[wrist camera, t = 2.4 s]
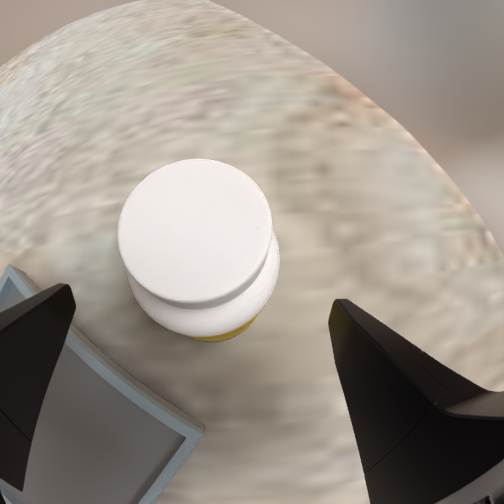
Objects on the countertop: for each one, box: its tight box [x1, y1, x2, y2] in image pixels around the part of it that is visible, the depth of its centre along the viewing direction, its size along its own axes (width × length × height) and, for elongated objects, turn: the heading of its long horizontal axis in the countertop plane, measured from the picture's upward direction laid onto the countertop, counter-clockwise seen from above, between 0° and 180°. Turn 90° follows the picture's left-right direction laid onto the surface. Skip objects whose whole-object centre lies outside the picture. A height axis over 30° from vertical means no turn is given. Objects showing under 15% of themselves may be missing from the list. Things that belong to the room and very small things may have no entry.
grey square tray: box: [0, 264, 206, 504], centre depth 11 cm, size 18×16×4 cm
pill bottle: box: [117, 159, 280, 342], centre depth 13 cm, size 6×6×11 cm
